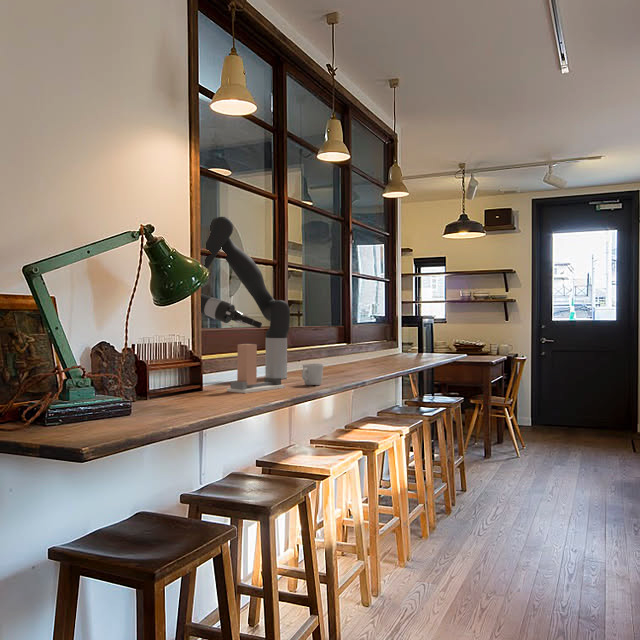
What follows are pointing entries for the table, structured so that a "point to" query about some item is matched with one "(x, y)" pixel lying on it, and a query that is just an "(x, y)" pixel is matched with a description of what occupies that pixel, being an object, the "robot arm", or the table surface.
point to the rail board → (256, 385)
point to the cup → (312, 374)
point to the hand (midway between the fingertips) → (257, 324)
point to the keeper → (247, 363)
